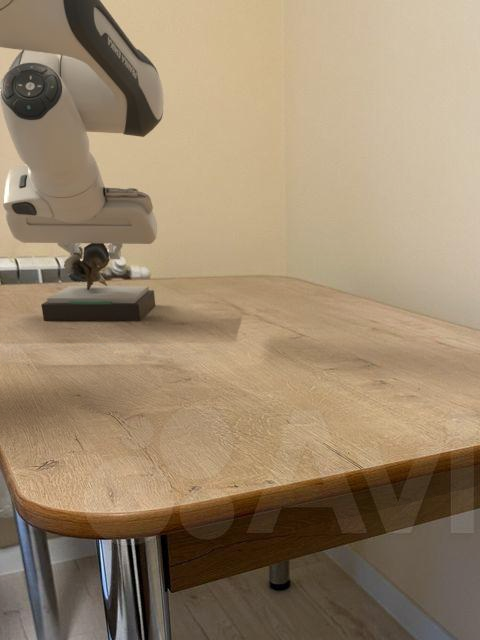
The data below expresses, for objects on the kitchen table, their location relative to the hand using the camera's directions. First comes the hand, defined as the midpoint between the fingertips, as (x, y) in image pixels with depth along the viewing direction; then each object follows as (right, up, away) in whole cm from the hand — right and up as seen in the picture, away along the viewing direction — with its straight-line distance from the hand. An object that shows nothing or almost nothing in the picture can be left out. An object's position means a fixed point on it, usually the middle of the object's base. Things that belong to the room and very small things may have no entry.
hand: (96, 255), depth 109 cm
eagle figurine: (-1, -5, +1) cm, 5 cm away
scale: (0, -8, +3) cm, 9 cm away
